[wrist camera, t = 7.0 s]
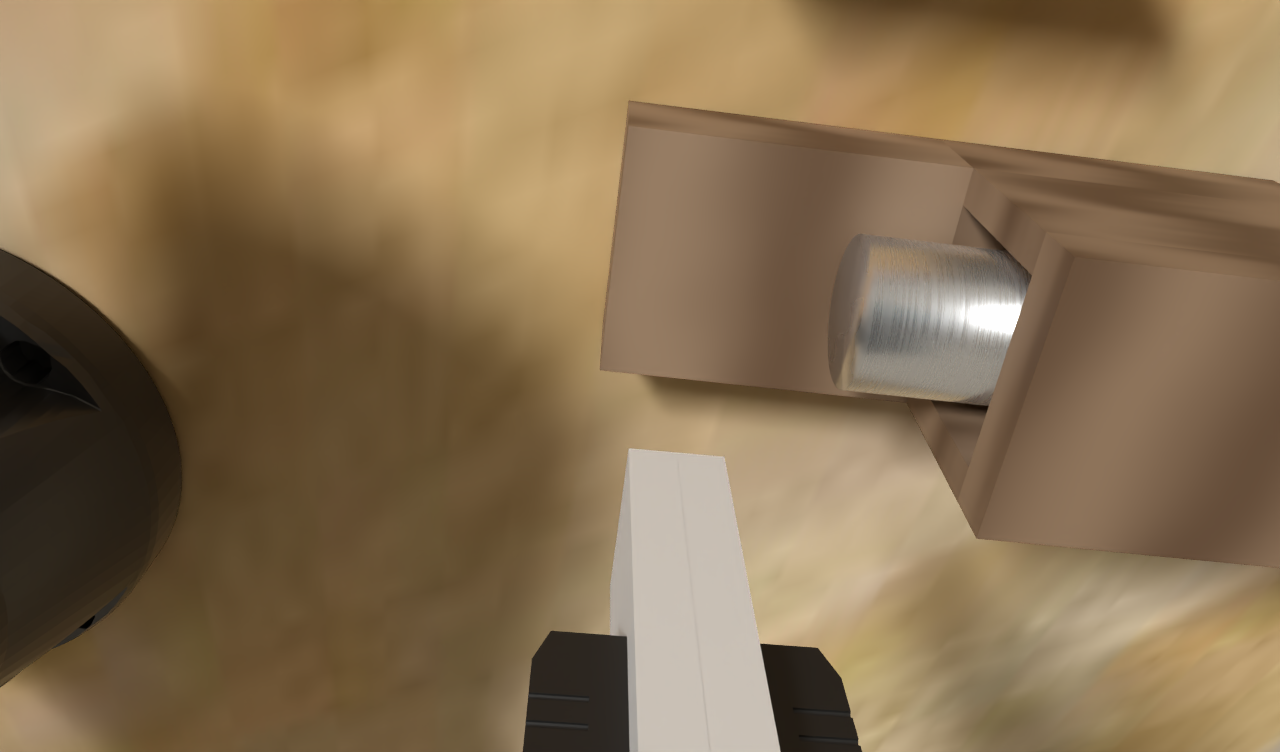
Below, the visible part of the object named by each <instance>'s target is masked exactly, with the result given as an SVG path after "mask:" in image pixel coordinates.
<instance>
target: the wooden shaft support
mask: <svg viewBox="0 0 1280 752" xmlns="http://www.w3.org/2000/svg"><path fill="white" fill-rule="evenodd" d="M858 234H867V235H876V236H884V237H893V238H901V239H909V240H918V241H926V242H935V243H943V244H952V245H960V246H969V247H977V248H986V249H994V250H1003V251H1008V252H1009V253H1010V254H1011V255H1012V256H1013V257H1014V258H1015V259H1016V260H1017V261H1018V262H1019V263H1020V264H1021V265H1022V266H1023V267H1024V268H1025V269H1026V270H1027V271H1028V272H1029V273H1030V274H1031V275H1032V277H1031V280H1030V283H1029V286H1028V289H1027V292H1026V295H1025V298H1024V302H1023V305H1022V308H1021V311H1020V314H1019V317H1018V320H1017V323H1016V326H1015V329H1014V332H1013V335H1012V338H1011V341H1010V344H1009V347H1008V350H1007V353H1006V356H1005V359H1004V362H1003V365H1002V368H1001V371H1000V374H999V377H998V380H997V383H996V386H995V389H994V392H993V395H992V398H991V401H990V404H989V406H985V405H976V404H967V403H957V402H948V401H939V400H929V399H920V398H911V397H901V396H892V395H883V394H874V393H864V392H855V391H846V390H839V389H838V388H837V387H836V386H835V385H834V383H833V380H832V378H831V374H830V369H829V361H828V324H829V314H830V306H831V300H832V294H833V289H834V284H835V280H836V276H837V273H838V269H839V266H840V263H841V260H842V258H843V255H844V253H845V251H846V248H847V247H848V245H849V243H850V242H851V240H852V239H853V238H854V237H855V236H856V235H858ZM600 370H604V371H613V372H622V373H632V374H641V375H651V376H660V377H670V378H679V379H689V380H698V381H707V382H717V383H726V384H736V385H745V386H755V387H764V388H774V389H783V390H792V391H802V392H811V393H821V394H830V395H840V396H849V397H859V398H868V399H877V400H887V401H896V402H906V403H907V404H908V406H909V408H910V410H911V412H912V414H913V416H914V418H915V420H916V422H917V424H918V426H919V428H920V430H921V432H922V433H923V435H924V437H925V439H926V441H927V443H928V445H929V447H930V449H931V451H932V453H933V455H934V457H935V459H936V461H937V463H938V465H939V467H940V468H941V470H942V472H943V474H944V476H945V478H946V480H947V482H948V484H949V486H950V488H951V490H952V492H953V494H954V496H955V498H956V500H957V502H958V503H959V505H960V507H961V509H962V511H963V513H964V515H965V517H966V519H967V521H968V523H969V525H970V527H971V529H972V531H973V533H974V535H975V536H976V538H977V539H987V540H998V541H1008V542H1018V543H1028V544H1039V545H1049V546H1059V547H1070V548H1080V549H1090V550H1100V551H1111V552H1121V553H1131V554H1142V555H1152V556H1162V557H1172V558H1183V559H1193V560H1203V561H1214V562H1224V563H1234V564H1244V565H1255V566H1265V567H1275V568H1280V184H1279V183H1277V182H1275V181H1272V180H1264V179H1256V178H1248V177H1240V176H1232V175H1224V174H1216V173H1208V172H1199V171H1191V170H1183V169H1175V168H1167V167H1159V166H1151V165H1143V164H1135V163H1127V162H1119V161H1111V160H1103V159H1094V158H1086V157H1078V156H1070V155H1062V154H1054V153H1046V152H1038V151H1030V150H1022V149H1014V148H1006V147H997V146H989V145H981V144H973V143H965V142H957V141H949V140H941V139H933V138H925V137H917V136H909V135H901V134H892V133H884V132H876V131H868V130H860V129H852V128H844V127H836V126H828V125H820V124H812V123H804V122H795V121H787V120H779V119H771V118H763V117H755V116H747V115H739V114H731V113H723V112H715V111H707V110H699V109H690V108H682V107H674V106H666V105H658V104H650V103H642V102H634V101H629V104H628V113H627V121H626V130H625V139H624V147H623V156H622V164H621V173H620V182H619V190H618V199H617V207H616V216H615V225H614V233H613V242H612V251H611V259H610V268H609V276H608V285H607V294H606V302H605V311H604V319H603V329H602V345H601V361H600Z"/></svg>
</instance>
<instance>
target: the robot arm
mask: <svg viewBox="0 0 1280 752" xmlns="http://www.w3.org/2000/svg"><path fill="white" fill-rule="evenodd" d="M181 484H182V472H181V460H180V453H179V447H178V443H177V439H176V435H175V431H174V428H173V425H172V422H171V419H170V416H169V414H168V411H167V409H166V407H165V404H164V402H163V400H162V398H161V396H160V394H159V392H158V390H157V388H156V386H155V385H154V383H153V381H152V380H151V378H150V376H149V375H148V373H147V372H146V370H145V369H144V367H143V366H142V364H141V363H140V361H139V360H138V359H137V357H136V356H135V355H134V353H133V352H132V351H131V350H130V348H129V347H128V346H127V345H126V343H125V342H124V341H123V340H122V339H121V338H120V337H119V335H118V334H117V333H116V332H115V331H114V330H113V329H112V328H111V327H110V326H109V325H108V324H107V323H106V322H105V321H104V320H103V319H102V318H101V317H100V316H99V315H98V314H97V313H96V312H95V311H93V310H92V309H91V308H90V307H89V306H88V305H87V304H85V303H84V302H83V301H82V300H81V299H79V298H78V297H77V296H75V295H74V294H73V293H72V292H70V291H69V290H68V289H66V288H65V287H64V286H62V285H61V284H59V283H58V282H56V281H55V280H53V279H52V278H51V277H49V276H47V275H46V274H44V273H43V272H41V271H39V270H38V269H36V268H34V267H33V266H31V265H29V264H27V263H26V262H24V261H22V260H20V259H18V258H16V257H14V256H13V255H10V254H8V253H6V252H4V251H2V250H0V687H2V686H3V685H4V684H6V683H7V682H8V681H10V680H11V679H12V678H13V677H15V676H16V675H17V674H18V673H20V672H21V671H22V670H23V669H25V668H26V667H27V666H29V665H30V664H31V663H33V662H34V661H36V660H37V659H38V658H40V657H41V656H42V655H44V654H45V653H46V652H48V651H49V650H50V649H53V648H55V647H57V646H60V645H62V644H64V643H66V642H68V641H70V640H72V639H74V638H76V637H78V636H79V635H81V634H82V633H84V632H86V631H87V630H89V629H90V628H92V627H93V626H95V625H96V624H98V623H99V622H100V621H102V620H103V619H104V618H106V617H107V616H108V615H109V614H110V613H111V612H112V611H113V610H114V609H115V608H116V607H118V606H119V605H120V604H121V603H122V602H123V601H124V599H125V598H126V597H127V596H128V595H129V594H130V593H131V591H132V590H133V589H134V587H135V586H136V585H137V583H138V582H139V580H140V579H141V578H142V576H143V575H144V573H145V572H146V570H147V569H148V567H149V566H150V565H151V563H152V562H153V560H154V559H155V557H156V556H157V555H158V553H159V552H160V550H161V549H162V547H163V545H164V544H165V542H166V540H167V538H168V536H169V534H170V532H171V530H172V528H173V525H174V522H175V519H176V516H177V512H178V508H179V503H180V496H181ZM850 712H851V711H850V707H849V704H848V700H847V697H846V693H845V690H844V686H843V683H842V679H841V677H840V676H839V675H838V673H837V672H836V671H835V670H834V668H833V667H832V666H831V664H830V663H829V662H828V661H827V659H826V658H825V657H824V655H823V654H822V653H821V652H820V650H819V649H818V648H812V647H798V646H784V645H770V644H760V641H759V636H758V631H757V626H756V620H755V615H754V610H753V605H752V600H751V594H750V589H749V584H748V579H747V573H746V568H745V563H744V558H743V552H742V547H741V542H740V537H739V531H738V526H737V521H736V516H735V510H734V505H733V500H732V495H731V490H730V484H729V479H728V474H727V469H726V463H725V458H724V457H722V456H710V455H699V454H688V453H676V452H665V451H654V450H642V449H631V448H629V450H628V458H627V465H626V472H625V480H624V487H623V495H622V502H621V509H620V517H619V524H618V531H617V539H616V546H615V554H614V561H613V568H612V576H611V583H610V635H600V634H586V633H572V632H559V631H551V632H550V633H549V635H548V636H547V638H546V639H545V640H544V642H543V643H542V645H541V646H540V648H539V649H538V651H537V652H536V654H535V655H534V657H533V658H532V665H531V675H530V685H529V695H528V705H527V715H526V726H525V736H524V746H523V752H862V750H861V746H858V736H857V732H856V729H855V725H854V722H853V718H851V717H850Z"/></svg>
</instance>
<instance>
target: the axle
mask: <svg viewBox="0 0 1280 752" xmlns="http://www.w3.org/2000/svg"><path fill="white" fill-rule="evenodd" d="M1031 277H1032V275H1031V274H1030V273H1029V272H1028V271H1027V270H1026V269H1025V268H1024V267H1023V266H1022V265H1021V264H1020V263H1019V262H1018V261H1017V260H1016V259H1015V258H1014V257H1013V256H1012V255H1011V254H1010V253H1009V252H1008V251H1003V250H994V249H986V248H977V247H969V246H960V245H952V244H943V243H935V242H926V241H918V240H909V239H901V238H893V237H884V236H876V235H867V234H858V235H856V236H855V237H854V238H853V239H852V240H851V242H850V243H849V245H848V247H847V248H846V251H845V253H844V255H843V258H842V260H841V263H840V266H839V269H838V273H837V276H836V280H835V284H834V289H833V294H832V300H831V306H830V314H829V324H828V361H829V369H830V374H831V378H832V380H833V383H834V385H835V386H836V387H837V388H838V389H839V390H846V391H855V392H864V393H874V394H883V395H892V396H901V397H911V398H920V399H929V400H939V401H948V402H957V403H967V404H976V405H985V406H989V404H990V401H991V398H992V395H993V392H994V389H995V386H996V383H997V380H998V377H999V374H1000V371H1001V368H1002V365H1003V362H1004V359H1005V356H1006V353H1007V350H1008V347H1009V344H1010V341H1011V338H1012V335H1013V332H1014V329H1015V326H1016V323H1017V320H1018V317H1019V314H1020V311H1021V308H1022V305H1023V302H1024V298H1025V295H1026V292H1027V289H1028V286H1029V283H1030V280H1031Z"/></svg>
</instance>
